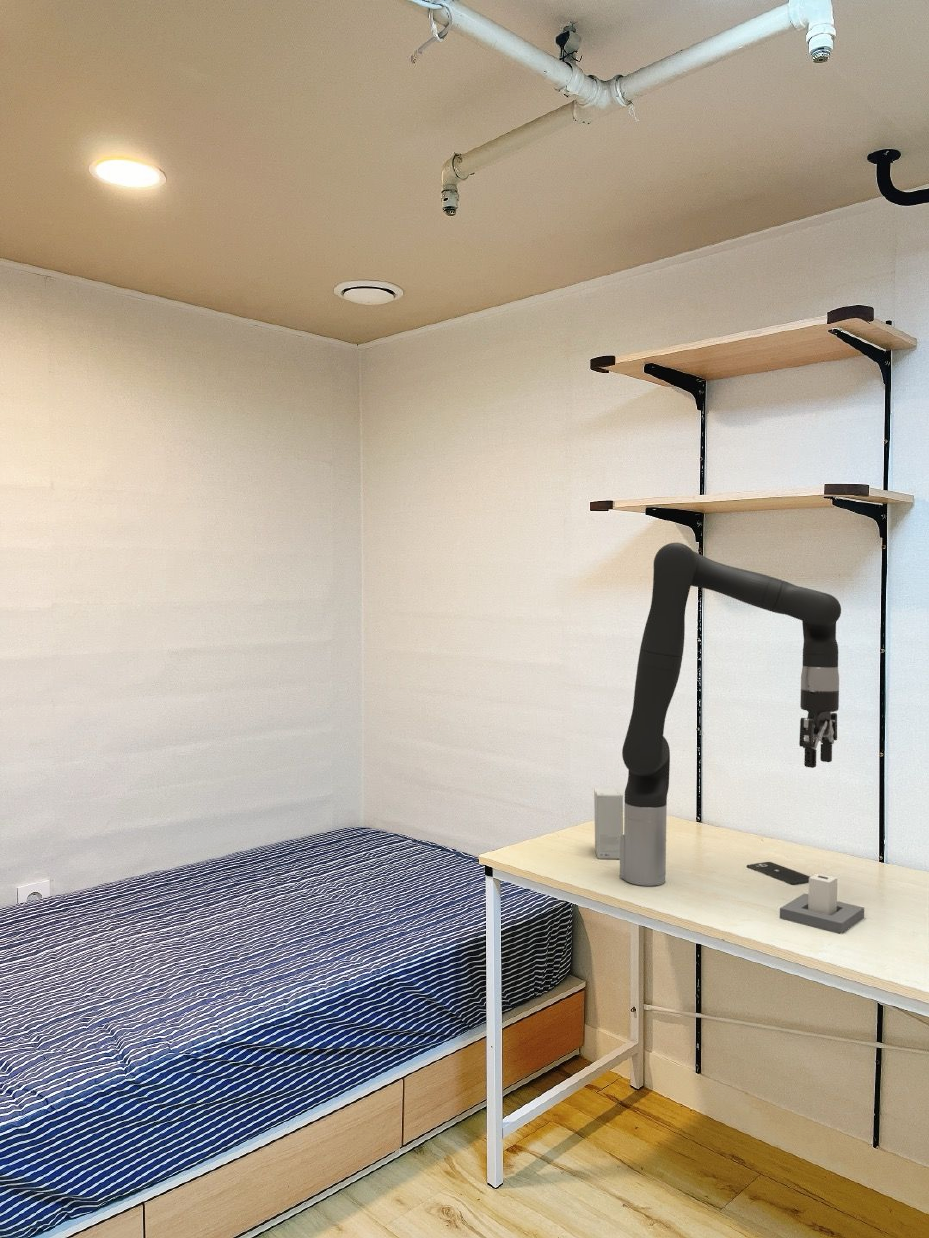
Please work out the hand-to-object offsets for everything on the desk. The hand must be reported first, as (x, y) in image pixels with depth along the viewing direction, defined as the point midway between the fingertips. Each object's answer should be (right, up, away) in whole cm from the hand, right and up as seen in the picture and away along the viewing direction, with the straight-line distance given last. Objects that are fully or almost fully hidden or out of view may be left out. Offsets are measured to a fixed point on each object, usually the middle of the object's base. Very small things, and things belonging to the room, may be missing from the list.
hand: (818, 764), depth 191 cm
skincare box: (-40, -27, +30) cm, 57 cm away
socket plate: (-4, -28, -12) cm, 31 cm away
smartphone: (-2, -28, +16) cm, 33 cm away
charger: (-4, -29, -12) cm, 31 cm away
